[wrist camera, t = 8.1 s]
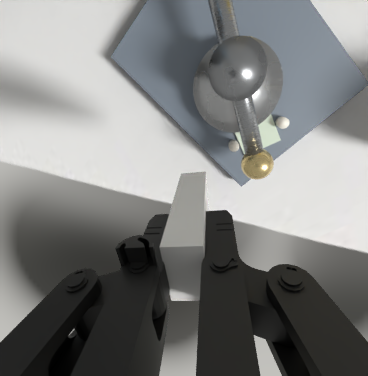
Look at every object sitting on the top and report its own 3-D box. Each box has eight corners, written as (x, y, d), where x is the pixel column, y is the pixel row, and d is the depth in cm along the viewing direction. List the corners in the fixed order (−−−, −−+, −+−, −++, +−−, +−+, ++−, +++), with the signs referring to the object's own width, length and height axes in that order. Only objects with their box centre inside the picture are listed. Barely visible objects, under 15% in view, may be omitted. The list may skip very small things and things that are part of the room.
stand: (117, 58, 26) (105, 55, 24) (223, -101, 20) (225, -132, 17) (239, 180, 31) (242, 190, 28) (358, 84, 25) (377, 83, 22)
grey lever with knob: (157, -28, 21) (136, -69, 15) (253, -79, 19) (270, -150, 13) (217, 173, 29) (218, 194, 23) (290, 153, 26) (311, 171, 21)
